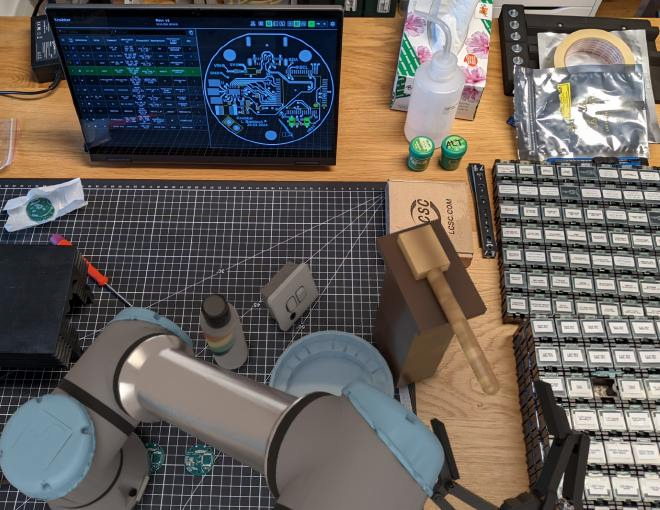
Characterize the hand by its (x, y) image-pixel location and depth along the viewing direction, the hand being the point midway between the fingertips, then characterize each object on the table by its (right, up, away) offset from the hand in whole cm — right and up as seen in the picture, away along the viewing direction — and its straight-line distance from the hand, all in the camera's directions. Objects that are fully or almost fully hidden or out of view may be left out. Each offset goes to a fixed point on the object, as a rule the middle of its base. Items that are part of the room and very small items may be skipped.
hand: (490, 401), depth 72 cm
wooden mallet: (-4, +10, +4) cm, 11 cm away
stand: (-6, 0, +33) cm, 33 cm away
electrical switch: (-26, +8, +37) cm, 46 cm away
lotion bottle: (-35, 0, +33) cm, 48 cm away
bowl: (-18, -7, +29) cm, 35 cm away
